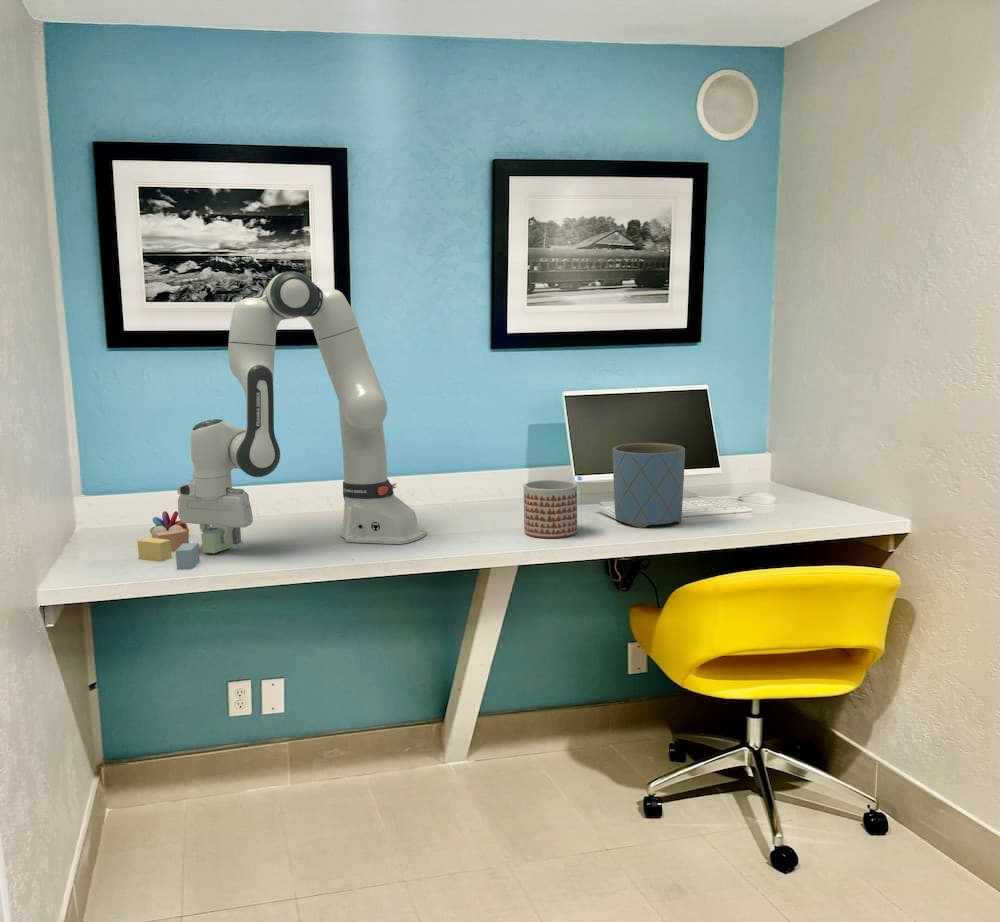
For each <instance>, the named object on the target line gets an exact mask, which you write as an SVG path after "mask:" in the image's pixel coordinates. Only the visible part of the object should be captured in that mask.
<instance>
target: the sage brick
mask: <svg viewBox="0 0 1000 922" xmlns="http://www.w3.org/2000/svg"><path fill="white" fill-rule="evenodd" d="M224 533H225V530H223V528H218V529H215V530H212V531H209V532H206V533H201V534H200V536H201V537H200V538H201V545H202V547H201V548H202V549H201V550H202V553H209V554H215V553H218V552H221V551H224V550H226V549H229V548H232V547H234V544H233V535H232V533H231V535H230V543H228V544H223V543H221V536H223V535H224Z"/></svg>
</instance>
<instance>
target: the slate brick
mask: <svg viewBox="0 0 1000 922" xmlns="http://www.w3.org/2000/svg"><path fill="white" fill-rule="evenodd" d="M199 549H200V548H199V542H189V543H183V544H182V545H181V546H180V547H179V548H178V549H177V550H176V551H175V559H176V561H175V562H176V570H189V569H190V570H191V569H192V570H193V569H194V568H195V567H196V565H197V564H198V563H199V562H200V550H199ZM194 566H195V567H194Z"/></svg>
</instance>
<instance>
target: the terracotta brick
mask: <svg viewBox="0 0 1000 922" xmlns="http://www.w3.org/2000/svg"><path fill="white" fill-rule="evenodd" d="M155 535H156V538H157V539H167V540H171V552H174V551H175V552H176V550H177V549H178V548H179V547H180V546H181V545H182V544H183V543H190V540H189V533H188V531H186V530H185V529H180V530H173V531H166V532H159V533H155Z"/></svg>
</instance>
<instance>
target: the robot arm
mask: <svg viewBox="0 0 1000 922" xmlns="http://www.w3.org/2000/svg"><path fill="white" fill-rule="evenodd" d="M355 316H356V315H355V314H354V312H353V309H352V307H351V306H350V303H349V302H348V300H347V298H346V296H345V294H343V292H341V291H340V290H338V289H333V288H327V289H323V290H322V289H321V288H320V287H318V285H316V284H315V283H314V282H313V281H312V280H311V279H310V278H309V277H308V276H306V275H305V274H304V273H301V272H298V271H286V272H285V271H284V272H281V273H278V274H276V275H275V276H274V277H273V278H272V279H271V280H270V281H269V282H268V283H267V284H266V286H265V288H264V289H263V290H262V291H261V294H260V295H259V296H258V297H246V298H243V299H241V300H238V301H237V302H236V304H235V305H234V307H233V310H232V316H231V321H230V326H229V333H228V344H227V345H228V346H227V347H228V349H227V351H228V352H227V353H228V363H229V369H230V371H231V373H232V374H233V376H234V377H235V378H236V379H237V381H238V383H240V386H242V389H243V391H244V395H245V402H246V403H245V411H246V413H245V416H246V417H245V418H246V419H245V421H246V422H245V426H246V427H245V429H243V428H240V427H237V426H234V425H232V424H230V423H227V422H226V421H224V420H223V419H219V418H217V419H216V418H215V419H209V420H203V421H201V422H199V423H197V424H196V425H194V426H193V427H192V429H191V435H190V456H191V461H192V464H193V471H192V472H193V474H192V479H193V480H192V481H190V482H187V483H184V484H182V485H179V486H177V489H176V491H177V494H178V495H179V497H178V499H177V512H178V519H179V520H181V522H182V523H186V524H193V525H199V529H200V531H201V534H203V533H206V532H209V531H210V530H209V527H210V526H212V525H215V526H223V530H225V533H224V535H223V536H221V543H223V544H228V543H230V535H231V533H232V531H233V527H239V528H240V529H241V528H242V529H243V528H247V527H249V526H251V525H252V523H253V522H254V518H253V517H254V516H253V512H252V506H251V502H250V495H249V494H248V493H247V492H246V491H245V490H244V488H234V487H233V481H232V470H235V469H239V470H241V471H242V472H244V473H245V474H246V475H248V476H250V477H253V478H261V477H263V478H264V477H266V476H268V475H270V474H271V473H272V472H273V471H275V470H276V469H277V467H278V465H279V463H280V461H281V449H280V446H279V444H278V440H277V438H276V435H275V427H274V426H275V424H274V423H275V421H274V420H275V418H274V417H275V415H274V414H275V412H274V411H275V408H274V402H275V401H274V398H275V397H274V396H275V395H274V371H275V370H274V369H275V368H274V367H275V356H276V355H275V354H276V339H277V337H276V333H277V330H278V326H279V324H280V322H282V321H284V320H288V319H291V320H292V319H296V318H300V317H302V318H304V319H305V320H307V322H308V323H309V324H310V326H311V328H312V330H313V334H314V337H315V340H316V343H317V346H318V349H319V352H320V354H321V357H322V360H323V363H324V366H325V368H326V372H327V373H328V377H329V379H330V381H331V384H332V386H333V389H334V392H335V395H336V397H337V399H338V413H339V425H340V438H341V447H342V463H343V480H344V481H342V496H343V500H344V505H343V507H344V509H343V519H342V526H341V531H340V534H339V536H340V537H342V538H343V539H345V540H344V542H347V543H358V544H359V543H362V544H364V543H365V544H385V545H403V544H408V543H412V542H414V541H415V542H416V541H418V540H419V539H422V538H423V537H425V536H426V535H427V533H428V532H427V529H426V528H422V527H419V524H418V519H417V515H416V513H415V510H413V508H411V507H410V506H409V505H408V504H406V503H405V502H404V501H403V500H401V499H400V498H399V497H398V496H396V495H395V492H394V489H396V488H397V483H391V481H390V480H389V479H388V466H387V465H388V463H387V447H386V446H387V445H386V441H385V432H384V423H383V422H384V421H385V419H386V417H387V414H388V403H387V400H386V398H385V394H384V392H383V389H382V386H381V384H380V380H379V378H378V376H377V373H376V371H375V368H374V366H373V363H372V361H371V358H370V356H369V353H368V351H367V348H366V344H365V342H364V339H363V336H362V332H361V330H360V327H359V323H358V322H357V319H356V317H355Z"/></svg>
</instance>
